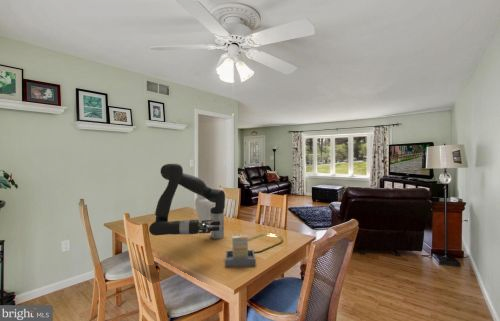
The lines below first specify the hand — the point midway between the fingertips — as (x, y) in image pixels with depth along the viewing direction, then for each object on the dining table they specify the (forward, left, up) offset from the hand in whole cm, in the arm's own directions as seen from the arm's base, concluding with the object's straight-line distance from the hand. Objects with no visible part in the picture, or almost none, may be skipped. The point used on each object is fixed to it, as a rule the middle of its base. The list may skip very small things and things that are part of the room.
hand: (219, 225), depth 130 cm
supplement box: (0, +11, -19) cm, 22 cm away
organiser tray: (0, +11, -20) cm, 23 cm away
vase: (-68, -17, -20) cm, 73 cm away
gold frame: (-24, +25, -21) cm, 40 cm away
